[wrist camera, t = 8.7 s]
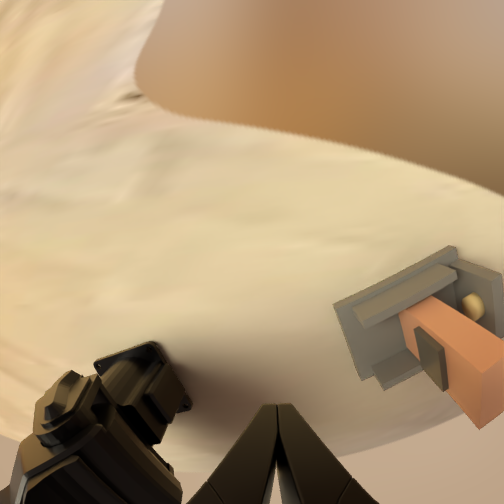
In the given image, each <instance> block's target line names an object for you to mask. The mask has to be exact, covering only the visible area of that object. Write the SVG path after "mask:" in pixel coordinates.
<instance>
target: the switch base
mask: <svg viewBox="0 0 504 504" xmlns="http://www.w3.org/2000/svg"><path fill="white" fill-rule="evenodd" d="M430 295H432V296H433V297H435V298H437V299H438V300H440V301H442V302H443V303H445V304H446V305H448V306H450V307H451V308H453V309H455V310H456V311H458V312H459V313H461V314H463V315H464V316H466V317H467V318H469V319H471V320H472V321H474V322H475V323H477V324H478V325H480V326H482V327H483V328H485V329H486V330H488V331H489V332H491V333H492V334H494V335H495V336H497V337H498V338H500V339H501V338H503V337H504V292H503V283H502V274H501V273H498V272H495V271H492V270H490V269H487V268H484V267H481V266H478V265H475V264H472V263H469V262H466V261H463V260H460V259H458V255H457V250H456V247H452V246H447V247H445V248H443V249H442V250H440V251H438V252H436V253H434V254H433V255H431V256H429V257H427V258H425V259H423V260H422V261H420V262H418V263H416V264H414V265H412V266H410V267H408V268H406V269H405V270H403V271H401V272H399V273H397V274H395V275H393V276H391V277H389V278H387V279H385V280H383V281H381V282H379V283H377V284H375V285H373V286H371V287H369V288H367V289H364V290H362V291H360V292H358V293H356V294H354V295H352V296H350V297H348V298H345V299H343V300H341V301H339V302H337V303H334V304H333V307H334V309H335V312H336V314H337V317H338V320H339V322H340V325H341V328H342V330H343V333H344V336H345V339H346V341H347V344H348V347H349V350H350V352H351V355H352V358H353V361H354V364H355V367H356V369H357V372H358V375H359V377H360V379H361V381H363V380H365V379H367V378H369V377H371V376H373V375H375V377H376V378H377V380H378V382H379V383H380V385H381V387H382V388H383V390H386V389H388V388H390V387H392V386H394V385H396V384H398V383H400V382H402V381H404V380H406V379H408V378H410V377H411V376H413V375H415V374H417V373H419V372H420V371H422V370H423V369H422V367H421V363H420V361H419V360H418V359H417V358H416V357H415V355H414V354H413V353H412V352H411V351H410V350H409V349H408V348H407V347H406V342H405V338H404V334H403V330H402V326H401V323H400V319H399V315H398V313H399V312H401V311H402V310H404V309H406V308H408V307H410V306H412V305H414V304H415V303H417V302H419V301H421V300H423V299H424V298H426V297H428V296H430Z"/></svg>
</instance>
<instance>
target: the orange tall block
mask: <svg viewBox="0 0 504 504" xmlns="http://www.w3.org/2000/svg"><path fill="white" fill-rule="evenodd" d="M398 315H399V319H400V323H401V326H402V330H403V334H404V338H405V342H406V347H407V348H408V349H409V350H410V351H411V352H412V353H413V354H414V355H415V357H416V358H417V359H418V360H419V361H420V363H421V367H422V369H423V370H424V371H425V372H426V373H427V374H428V375H429V377H430V378H431V379H432V380H433V381H434V382H435V383H436V385H437V386H438V387H439V388H440V389H441V390H442V392H444V391H447V392H448V394H449V395H450V396H451V397H452V398H453V399H454V401H455V402H456V403H457V404H458V405H459V406H460V408H461V409H462V410H463V411H464V412H465V413H466V415H467V416H468V417H469V418H470V419H471V421H472V422H473V423H474V424H475V425H476V427H477V428H478V429H481V428H482V427H484V426H485V425H486V424H488V423H489V422H490V421H492V420H493V419H494V418H496V417H497V416H498V415H500V414H501V413H502V412H503V411H504V341H503V340H501V339H500V338H498V337H497V336H495V335H494V334H492V333H491V332H489V331H488V330H486V329H485V328H483V327H482V326H480V325H478V324H477V323H475V322H474V321H472V320H471V319H469V318H467V317H466V316H464V315H463V314H461V313H459V312H458V311H456V310H455V309H453V308H451V307H450V306H448V305H446V304H445V303H443V302H442V301H440V300H438V299H437V298H435V297H433V296H432V295H430V296H428V297H426V298H424V299H423V300H421V301H419V302H417V303H415V304H414V305H412V306H410V307H408V308H406V309H404V310H402V311H401V312H399V313H398Z"/></svg>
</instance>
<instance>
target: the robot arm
mask: <svg viewBox="0 0 504 504" xmlns="http://www.w3.org/2000/svg"><path fill="white" fill-rule="evenodd" d="M148 347H151V348H152V350H150V349H149V348H148ZM98 364H99V365H100V366H101V367H100V366H99V365H98ZM94 368H95V369H96V371H97V372H98V374H99V375H98V374H94V375H91V376H87V377H83V375H80V374H78V373H76V372H74V371H73V370H71V371H68V372H66V373H65V374H64V375H63V376H61V377H60V378H59V379H58V380H57V381H56V382H55V383H54V384H53V386H52V387H51V388H50V389H49V390H47V391H46V392H45V395H44V396H43V397H42V398H40V399H39V400H38V401H37V402H36V404H35V412H34V422H33V433H32V434H31V435H29V436H28V437H27V438H25V439H24V440H23V441H22V442H21V443H20V445H19V449H18V452H17V456H16V460H15V464H14V468H13V472H12V477H11V482H10V484H9V485H8V486H7V487H6V488H4V489H3V490H1V491H0V504H181V501H182V494H183V491H182V488H181V485H180V482H179V481H178V480H177V479H176V478H175V477H174V470H173V467H172V466H171V465H170V464H169V463H166V462H165V461H164V460H163V459H162V458H161V457H160V455H159V454H158V453H157V452H156V451H155V450H154V449H153V445H155V444H160V443H161V441H162V438H163V436H164V434H165V431H166V429H167V427H168V424H171V423H172V422H173V419H174V417H175V414H176V413H180V412H185V411H189V410H191V408H192V405H193V403H192V401H191V400H190V398H189V397H188V395H187V394H186V392H185V389H184V387H183V385H182V384H181V382H180V381H179V379H178V378H177V376H176V375H175V373H174V371H173V370H172V368H171V366H170V365H168V364H167V362H166V361H165V359H164V357H163V356H162V354H161V352H160V351H159V349H158V347H157V346H156V344H155V343H153V342H151V341H149V342H145V343H143V344H140V345H137V346H134V347H131V348H129V349H126V350H123V351H120V352H117V353H114V354H111V355H109V356H106V357H103V358H100V359H97V360H96V361H95V362H94ZM99 376H100V377H99ZM185 404H187V405H188V406H187V405H185ZM276 465H277V473H278V480H279V486H280V492H281V498H282V504H379V503H378V502H377V501H376V500H374V499H373V498H372V497H371V496H370V495H369V494H368V493H367V492H366V491H365V490H364V489H363V488H362V487H361V485H360V484H359V483H358V482H357V481H356V480H355V479H354V478H352V476H351V475H350V474H349V472H348V471H347V470H346V469H345V468H344V467H343V466H342V464H341V463H340V462H339V461H338V460H337V459H336V457H335V456H334V455H333V454H332V453H331V451H330V450H329V449H328V448H327V447H326V446H325V444H324V443H323V442H322V441H321V440H320V438H319V437H318V436H317V435H316V433H315V432H314V431H313V430H312V429H311V427H310V426H309V425H308V424H307V422H306V421H305V420H304V419H303V417H302V416H301V415H300V414H299V412H298V411H297V410H296V409H295V407H294V406H293V405H292V404H291V403H280V404H278V405H276V404H262V406H261V407H260V408H259V410H258V411H257V413H256V414H255V416H254V417H253V419H252V420H251V422H250V423H249V424H248V426H247V427H246V429H245V430H244V432H243V433H242V434H241V436H240V437H239V439H238V440H237V441H236V443H235V444H234V445H233V447H232V448H231V450H230V451H229V452H228V454H227V455H226V456H225V458H224V459H223V460H222V462H221V463H220V464H219V465H218V467H217V468H216V469H215V471H214V472H213V473H212V475H211V476H210V477H209V479H208V480H207V481H208V482H205V483H204V484H203V485H202V487H201V488H200V489H199V490H198V491H197V492H196V494H195V495H194V496H193V497H192V498H191V499H190V500H189V502H187V504H269V503H270V497H271V492H272V487H273V481H274V475H275V469H276Z"/></svg>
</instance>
